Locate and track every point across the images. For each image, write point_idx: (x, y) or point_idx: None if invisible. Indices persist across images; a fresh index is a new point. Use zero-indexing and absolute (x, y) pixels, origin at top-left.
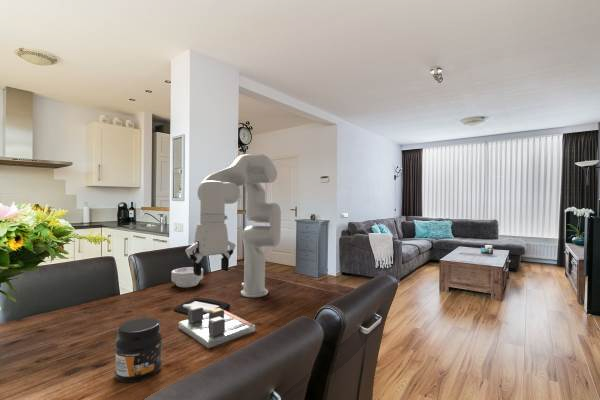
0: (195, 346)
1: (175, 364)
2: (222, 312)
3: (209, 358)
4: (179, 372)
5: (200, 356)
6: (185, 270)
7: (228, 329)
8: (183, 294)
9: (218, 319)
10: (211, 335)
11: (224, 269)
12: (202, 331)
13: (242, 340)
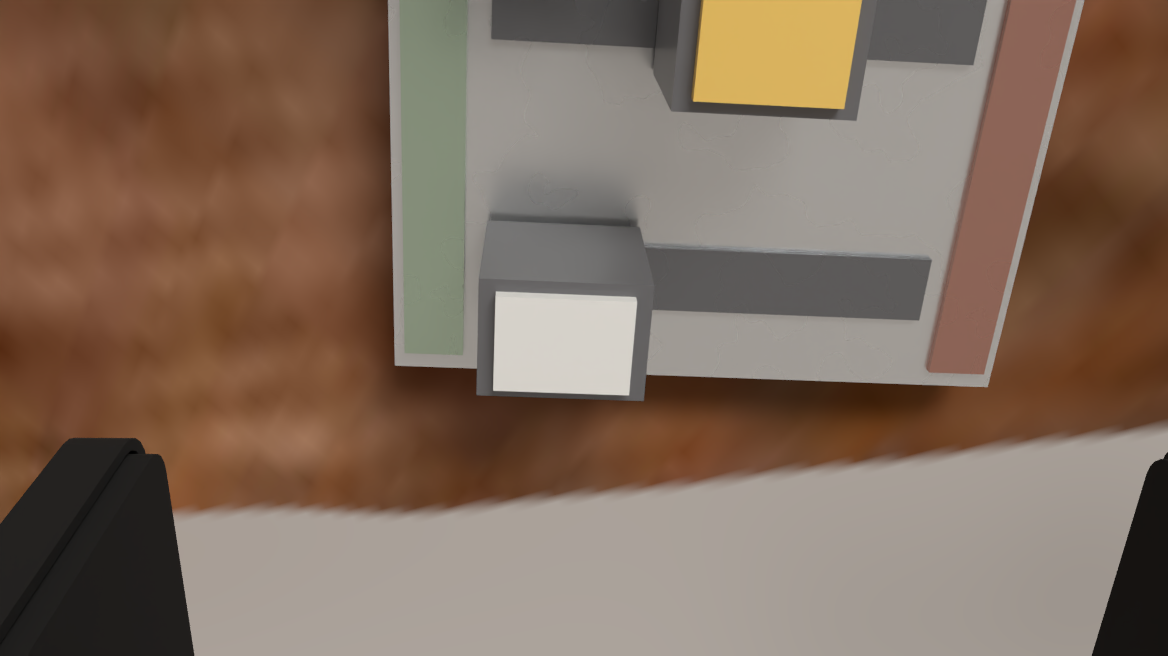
0: (329, 210)
1: (53, 378)
2: (819, 114)
3: (326, 484)
4: None
5: (281, 408)
6: None
7: (710, 289)
8: None
9: (567, 378)
10: None
11: (1120, 641)
12: (476, 100)
13: (731, 424)
